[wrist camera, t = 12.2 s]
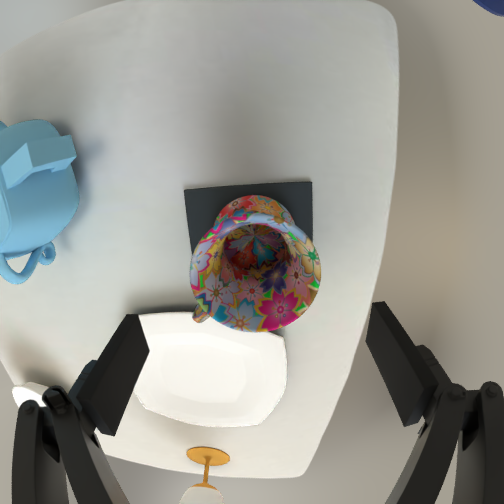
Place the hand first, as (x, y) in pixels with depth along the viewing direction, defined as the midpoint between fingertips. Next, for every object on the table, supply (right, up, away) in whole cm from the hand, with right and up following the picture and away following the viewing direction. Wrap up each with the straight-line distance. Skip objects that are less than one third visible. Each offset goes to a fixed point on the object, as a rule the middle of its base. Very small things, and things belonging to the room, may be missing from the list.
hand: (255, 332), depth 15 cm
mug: (-1, +5, +15) cm, 16 cm away
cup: (-9, -38, +32) cm, 51 cm away
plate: (-7, -13, +22) cm, 27 cm away
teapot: (-27, +14, +12) cm, 33 cm away
